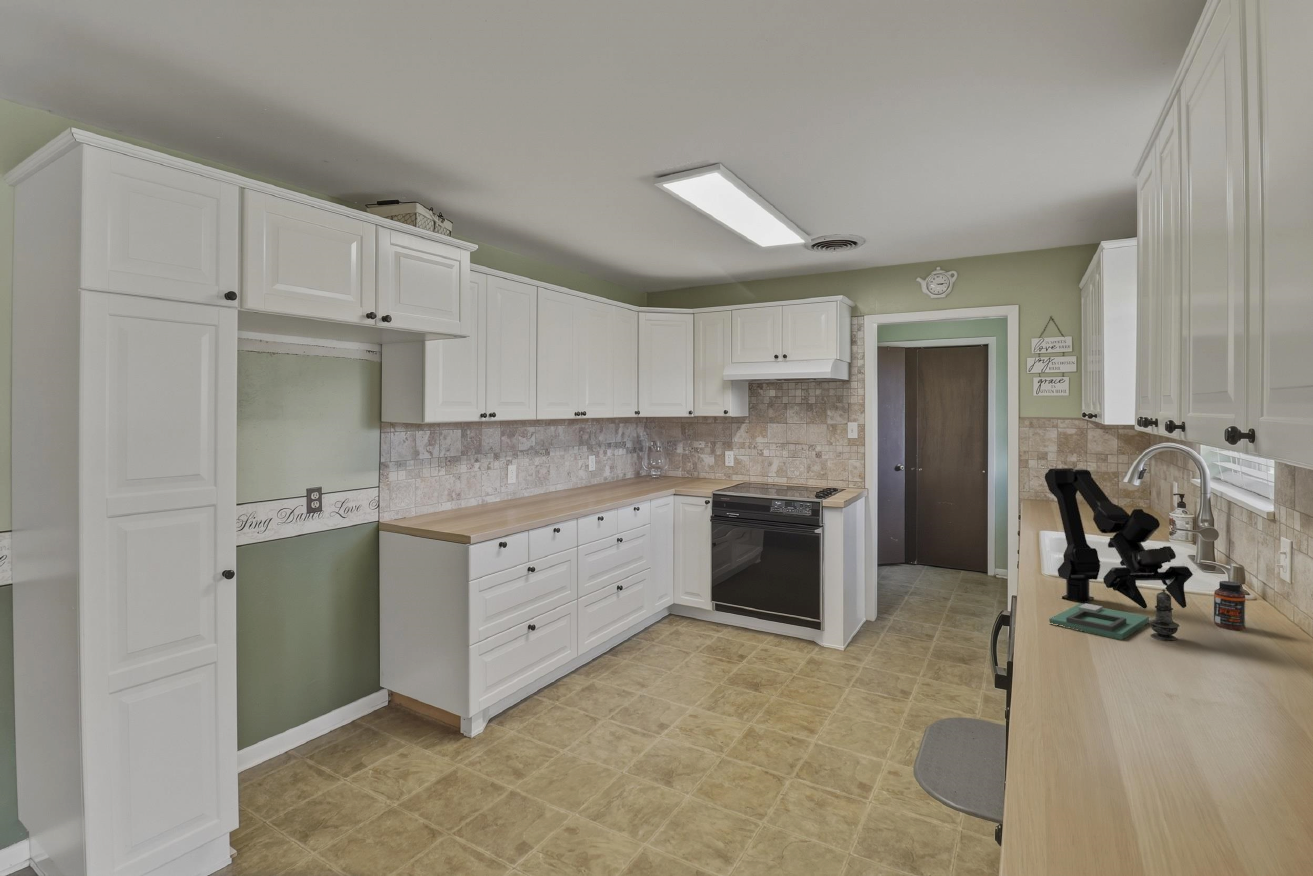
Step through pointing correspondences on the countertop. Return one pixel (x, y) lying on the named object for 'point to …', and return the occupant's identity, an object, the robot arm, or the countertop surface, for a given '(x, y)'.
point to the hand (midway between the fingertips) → (1165, 607)
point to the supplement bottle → (1229, 606)
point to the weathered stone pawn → (1164, 619)
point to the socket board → (1100, 620)
